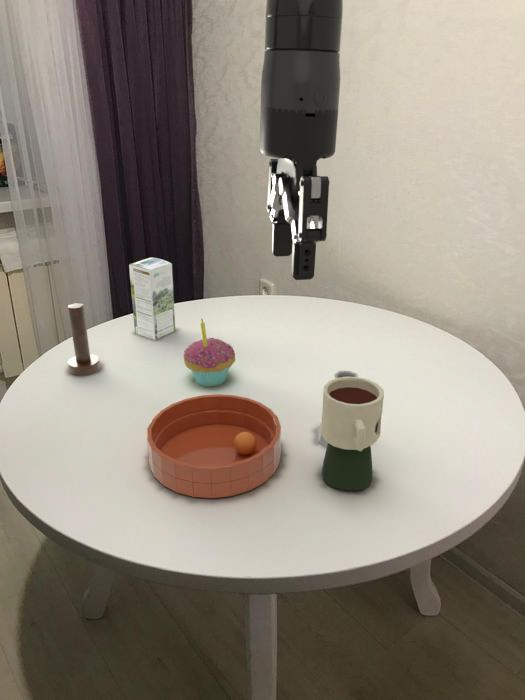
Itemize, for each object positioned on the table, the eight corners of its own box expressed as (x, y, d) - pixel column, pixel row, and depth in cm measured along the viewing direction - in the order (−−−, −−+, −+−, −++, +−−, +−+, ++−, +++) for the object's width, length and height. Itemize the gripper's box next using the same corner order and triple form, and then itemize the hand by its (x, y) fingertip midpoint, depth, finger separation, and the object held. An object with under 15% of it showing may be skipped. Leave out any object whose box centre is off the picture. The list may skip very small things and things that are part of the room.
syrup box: (155, 325, 119) (149, 256, 113) (176, 332, 116) (172, 261, 110) (134, 334, 115) (127, 263, 109) (156, 342, 112) (150, 268, 106)
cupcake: (224, 396, 93) (221, 327, 88) (175, 388, 96) (170, 320, 91) (242, 372, 101) (241, 307, 95) (197, 365, 103) (194, 301, 98)
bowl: (149, 509, 70) (145, 474, 67) (150, 429, 85) (147, 399, 83) (291, 493, 72) (292, 460, 70) (268, 419, 87) (268, 389, 85)
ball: (235, 460, 77) (234, 441, 76) (232, 447, 80) (232, 428, 79) (258, 458, 78) (258, 439, 76) (254, 445, 80) (254, 426, 79)
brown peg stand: (67, 378, 99) (56, 312, 94) (71, 365, 103) (61, 300, 98) (99, 376, 99) (90, 310, 94) (101, 362, 104) (93, 299, 99)
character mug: (385, 507, 70) (396, 413, 64) (325, 510, 69) (331, 416, 64) (364, 453, 80) (372, 367, 74) (312, 455, 79) (316, 369, 74)
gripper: (247, 100, 62) (244, 250, 69) (280, 107, 50) (273, 289, 57) (314, 102, 64) (306, 248, 71) (363, 109, 51) (347, 286, 58)
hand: (291, 266), depth 64 cm, fingers open, 8 cm apart
